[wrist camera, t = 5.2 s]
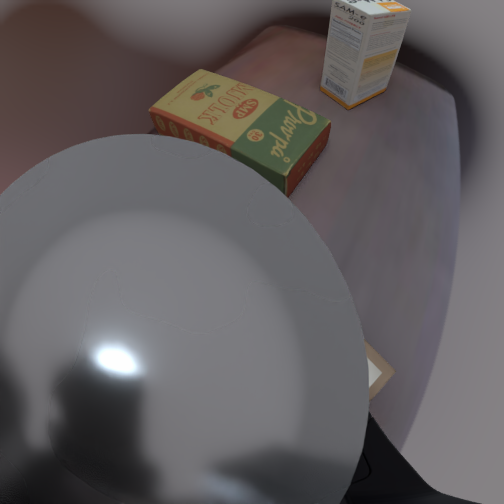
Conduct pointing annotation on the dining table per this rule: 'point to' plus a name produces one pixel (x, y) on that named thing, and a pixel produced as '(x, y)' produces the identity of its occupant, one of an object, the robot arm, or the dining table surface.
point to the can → (171, 335)
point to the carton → (244, 126)
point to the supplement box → (362, 48)
